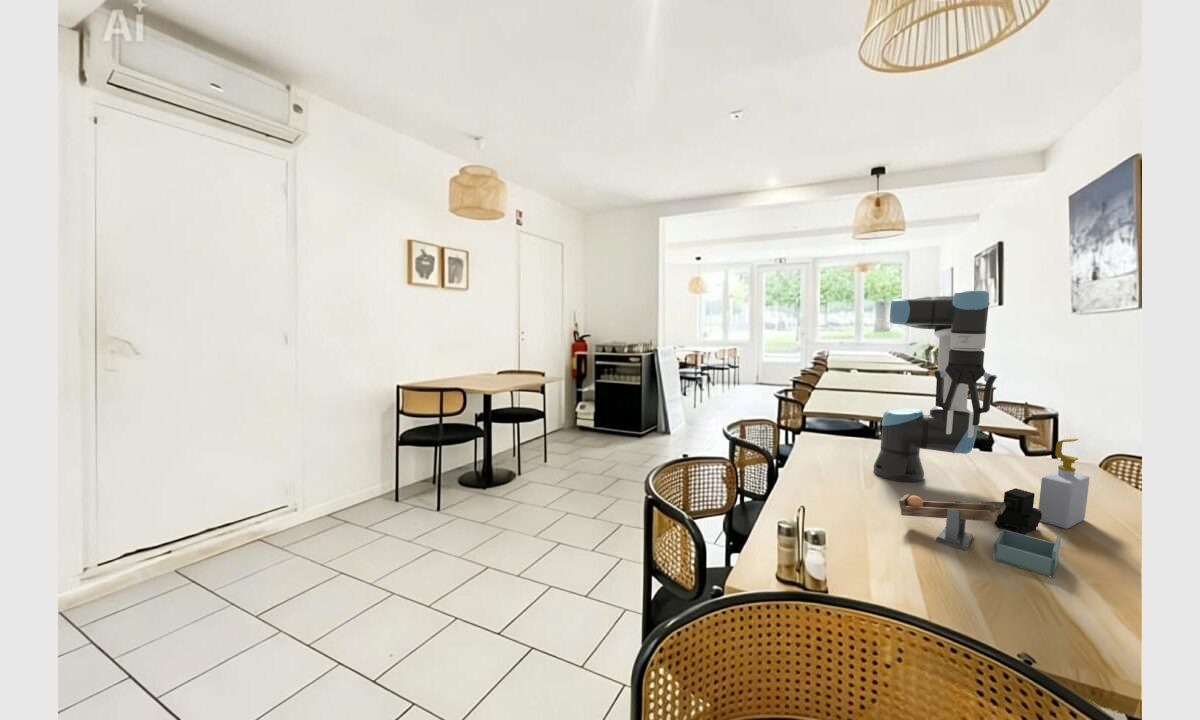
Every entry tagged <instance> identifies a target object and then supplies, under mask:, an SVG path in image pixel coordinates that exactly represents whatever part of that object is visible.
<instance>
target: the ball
mask: <svg viewBox="0 0 1200 720" xmlns="http://www.w3.org/2000/svg"><path fill="white" fill-rule="evenodd" d="M923 501H924V500H923V499H922V498H921V497H920V496H918V495H910V497H909V498H908V500H907V503H908V505H909V506H916V507H922V506H923Z"/></svg>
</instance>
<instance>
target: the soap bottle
mask: <svg viewBox="0 0 1200 720" xmlns="http://www.w3.org/2000/svg"><path fill="white" fill-rule="evenodd" d="M1076 441H1079V439H1078V438H1065V439H1061V440H1059V441H1057V442H1056V444H1055V452H1054V453H1055V454H1054V455H1055V457H1057V458H1058V459H1060V461H1061V462H1062V464H1061V465H1058V467H1057V468H1058V470H1056V471H1054V472H1051V473H1049V474H1046V475H1043V476H1042V478H1041V484H1040V493H1039V502H1038V510H1040V511H1041V513H1042V519H1041V520H1040V522H1042V523H1045V524H1050V525H1052V526H1055V527H1059V528H1062V529H1069V528H1072V527H1073V526H1075V525H1077V524H1079V523H1081V522H1083V521H1084V520H1085V518H1086V511H1087V502H1088V494H1089V485H1090V476H1088V475H1085V474H1080V473H1075V472H1076V467H1074V466H1072V465H1073V464H1075V462H1076V461H1078V460H1079V458H1078V457H1076V456H1071V455H1066V454H1063V453H1062V452H1063V451H1062V450H1063V443H1066V442H1067V443H1069V442H1076Z"/></svg>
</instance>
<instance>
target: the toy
mask: <svg viewBox="0 0 1200 720" xmlns="http://www.w3.org/2000/svg"><path fill="white" fill-rule="evenodd" d="M1035 495H1036V494H1035V493H1034V492H1030V491H1027V490H1025V489H1020V488H1012V489H1010V490H1006V491H1004V495H1003V501H1002V502H1003V503H1005V506H1006V508H1005V510H1004V511H1003V513H1002V514H999V515H998V517H997V518H996V520H995V522H994V526H995V527H996V528H999V529H1000V528H1003V527H1005V526H1010V527H1013V528H1016V533H1019V534H1023V535H1027V534H1029V533H1032V532H1034V531H1037V527H1039V524H1040V522H1041V521H1040V520H1041V519H1042V513H1041V511H1040V510H1039V508H1036V507H1034V504H1035Z"/></svg>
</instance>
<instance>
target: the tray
mask: <svg viewBox="0 0 1200 720" xmlns="http://www.w3.org/2000/svg"><path fill="white" fill-rule="evenodd" d="M1061 539H1062V536H1061V535H1057V537H1056V539H1055V542H1054V541H1053V542H1052V541H1049V540H1046V539H1041V538H1037V537H1033V536H1029V535H1027V534H1025V535H1023V534H1019V533H1017V532H1016V531H1015V532H1014V531H1011V530H1007V529H1003V528H1002V529H1001V531H1000V532H999V534H998V536H997V537H996V539H995V541H994V543H993V552H992V553H993V555H992V560H993V561H997V562H1000V563H1003V564H1006V565H1010V566H1012V565H1013V567H1016V568H1019V567H1020V569H1022V568H1023V570H1027V571H1029V570H1030V571H1029V572H1032V571H1033V572H1032V573H1036V572H1037V573H1036V574H1039V573H1040V575H1042V574H1044V575H1043V576H1046V575H1048V576H1047V577H1049V576H1051V577H1050V578H1052V577H1055V574H1056V571H1057V567H1058V564H1059V556H1060V549H1061V548H1060V547H1061ZM1055 570H1056V571H1055Z"/></svg>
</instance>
